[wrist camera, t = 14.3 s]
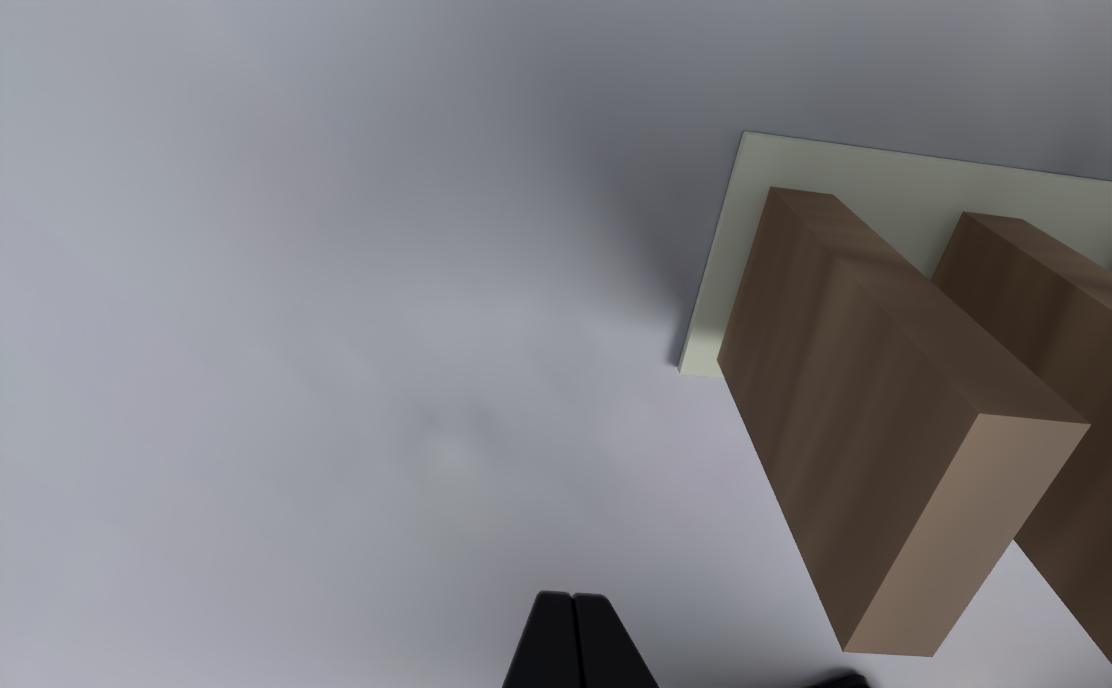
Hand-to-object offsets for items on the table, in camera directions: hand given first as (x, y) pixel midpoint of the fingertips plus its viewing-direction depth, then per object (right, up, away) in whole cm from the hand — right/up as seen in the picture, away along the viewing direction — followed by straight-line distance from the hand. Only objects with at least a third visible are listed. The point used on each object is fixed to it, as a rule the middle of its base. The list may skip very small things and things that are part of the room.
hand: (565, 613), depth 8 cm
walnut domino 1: (+5, +5, +9) cm, 12 cm away
